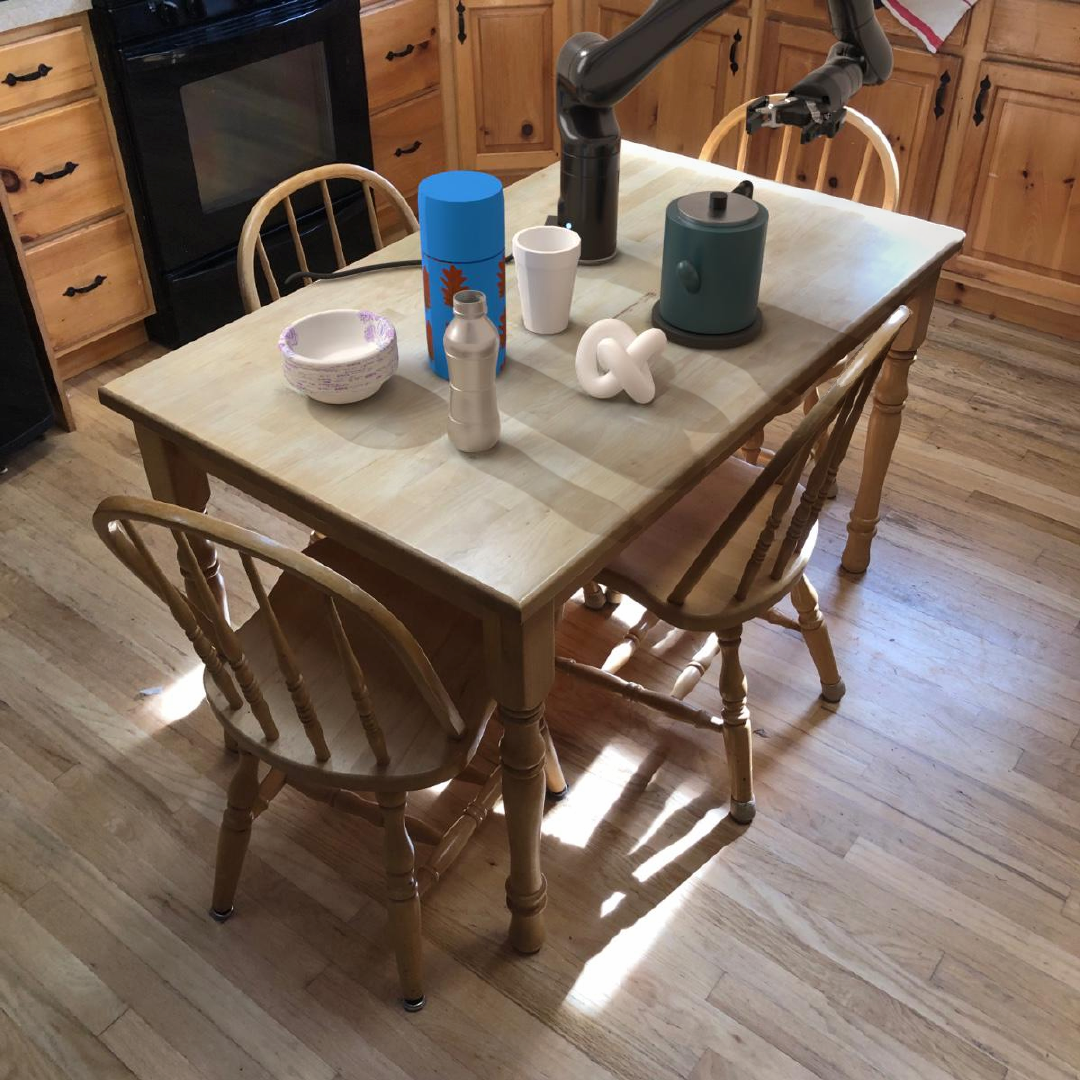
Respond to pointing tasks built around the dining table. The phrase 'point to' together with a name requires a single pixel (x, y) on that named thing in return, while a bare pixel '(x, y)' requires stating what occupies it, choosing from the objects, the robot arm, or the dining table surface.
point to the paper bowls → (339, 354)
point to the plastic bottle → (472, 374)
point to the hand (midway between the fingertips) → (775, 133)
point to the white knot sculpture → (618, 360)
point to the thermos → (461, 253)
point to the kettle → (713, 260)
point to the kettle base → (707, 340)
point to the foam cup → (546, 275)
